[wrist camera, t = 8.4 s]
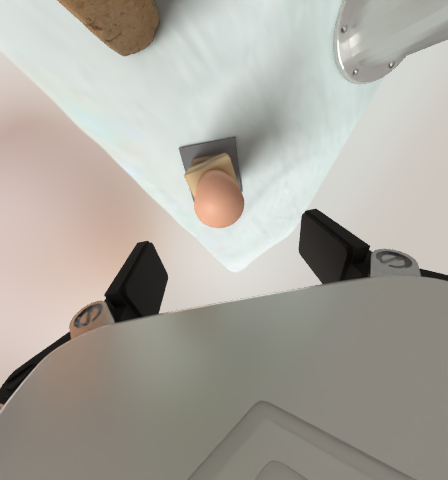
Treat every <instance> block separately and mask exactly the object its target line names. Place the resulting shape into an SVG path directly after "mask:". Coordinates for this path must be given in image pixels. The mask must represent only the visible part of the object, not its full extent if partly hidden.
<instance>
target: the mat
mask: <svg viewBox="0 0 448 480" xmlns="http://www.w3.org/2000/svg"><path fill="white" fill-rule="evenodd" d="M179 151H180V154H181V158H182V161H183V165H184V168H185V172H186V171H187V170H188V168H189V167H191V161H192V160H193V158H198V157H203V156H208V155H213V154H218V153H223V152H226V153H227V154H228V155H229V156H230V159H231V162H232V165H233V169H234V172H235V175H236V179H237V182H238V185H239V189H240V191H241V185H240V176H239V167H238V159H237V150H236V141H235V137H232V138H227V139H222V140H217V141H212V142H207V143H203V144H198V145H193V146H188V147H183V148H179ZM191 194H192V192H191ZM192 197H193V201H194V200H195V198H194V196H193V194H192Z"/></svg>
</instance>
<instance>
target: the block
mask: <svg viewBox="0 0 448 480" xmlns="http://www.w3.org/2000/svg"><path fill="white" fill-rule="evenodd" d="M58 1H59V2H60V3H61V4H62V5H63V6H64V7H65V8H66V9H67V10H69V11H70V12H71V13H72V14H73V15H74V16H75V17H76V18H78V19H79V20H80V21H81V22H82V23H83V24H84V25H85V26H86V27H87V28H88V29H89V30H90V31H91V32H92V33H93V34H94V35H96V36H97V37H98V38H99V39H100V40H101V41H103V42H104V43H105V44H106V45H107V46H109V47H110V48H111V49H113V50H114V51H116V52H117V53H119V54H120V55H122V56H128V55H130V54H135V53H137V52H139V51H141V50H143V49H145V48H146V47H147V46H148V45H149V44H150V43H151V42H152V41H153V38H154V33H155V30H156V28H157V26H158V24H159V14H158V11H157V8H156V5H155V2H154V0H58Z"/></svg>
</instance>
